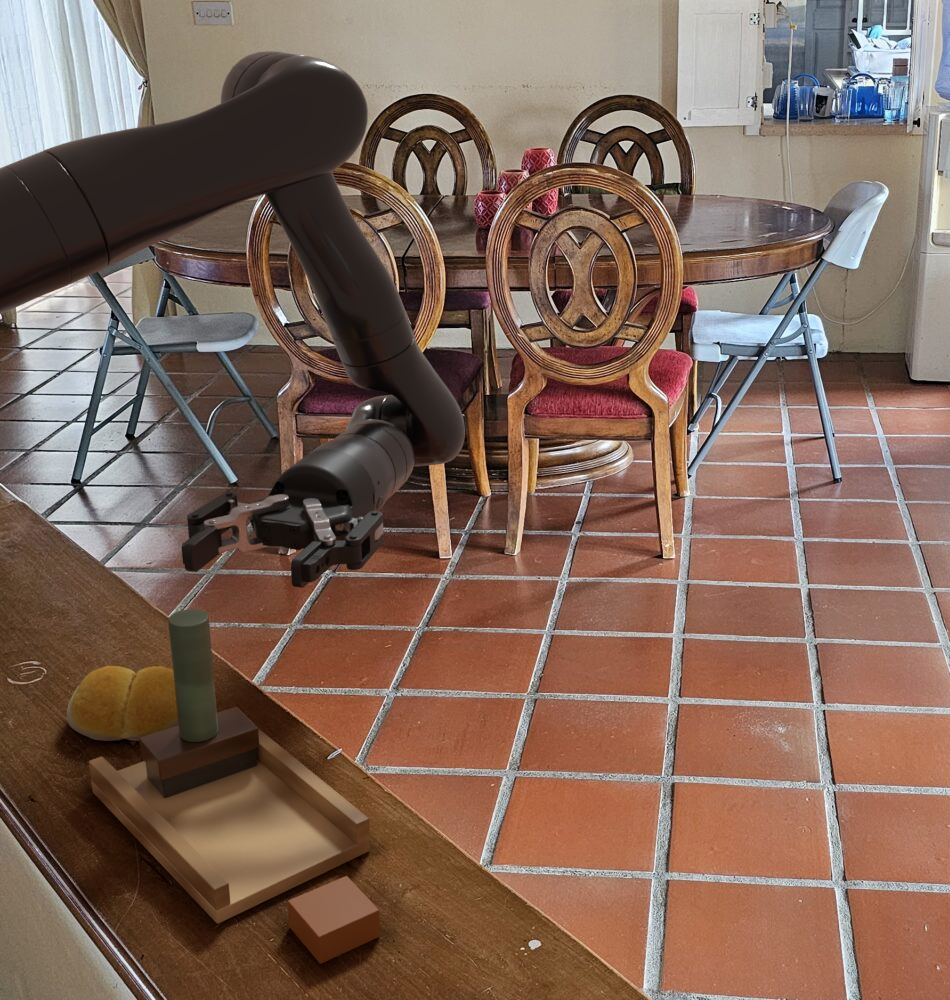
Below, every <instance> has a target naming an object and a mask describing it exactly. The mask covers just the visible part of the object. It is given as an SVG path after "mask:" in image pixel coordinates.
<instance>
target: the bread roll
mask: <svg viewBox="0 0 950 1000" xmlns="http://www.w3.org/2000/svg"><path fill="white" fill-rule="evenodd" d="M66 722H67V723H68V726H69V727H70V728H72V729H73V730H74V731H75V732H77V733H79V734H80V735H83V736H85V737H87V738H90V739H92V740H95V741H105V742H108V741H109V742H112V741H122V740H128V741H133V742H139V738H140V737H144V736H147V735H150V734H153V733H156V732H159V731H162V730H165V729H169V728H172V727H175V726H178V715H177V705H176V695H175V684H174V674H173V668H169V667H165V666H162V665H158V666H155V665H153V666H148V667H144V668H142V669H140V670H138V671H137V672H135V671H133V670H132V669H130V668H127V667H123V666H120V665H104V666H102V667H99V668H97V669H94V670H92V671H91V672H89V673H88V674H87V675H86V676H85V677H84V678H83V679H82V681H81V682H80V683H79V684H78V685H77V686H76V689H75V690H74V692H73V693H72V697H70V699H69V702H68V705H67V709H66Z"/></svg>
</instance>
